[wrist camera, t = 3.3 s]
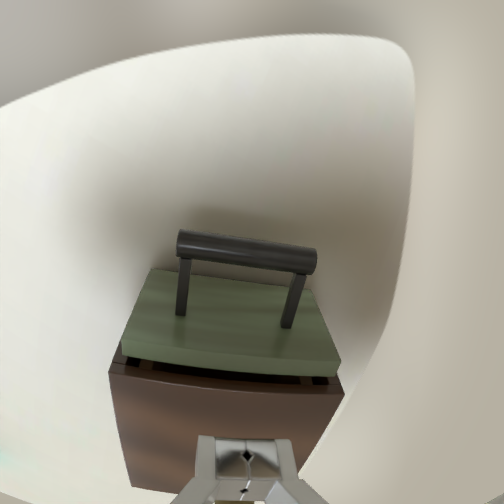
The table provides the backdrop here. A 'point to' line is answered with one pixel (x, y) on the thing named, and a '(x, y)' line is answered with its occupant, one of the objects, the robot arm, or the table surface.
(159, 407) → the cabinet
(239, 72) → the table surface
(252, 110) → the table surface
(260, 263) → the drawer
